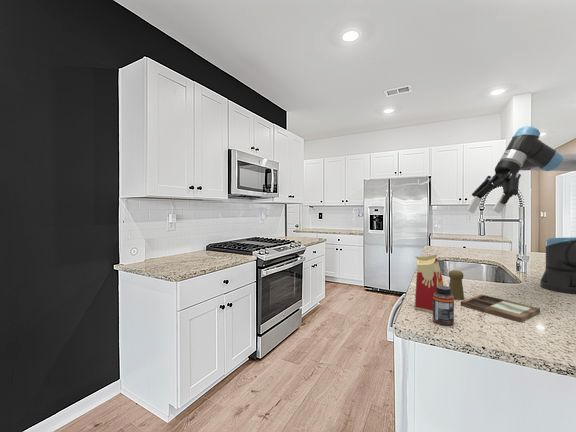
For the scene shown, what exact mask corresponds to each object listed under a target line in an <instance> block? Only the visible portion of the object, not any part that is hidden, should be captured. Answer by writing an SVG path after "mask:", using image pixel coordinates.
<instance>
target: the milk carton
mask: <svg viewBox="0 0 576 432" xmlns="http://www.w3.org/2000/svg"><path fill="white" fill-rule="evenodd" d="M437 257H438V254H437V253H436V254H431V255H425V256H415V259H416V261H417V262H416V263H417V269H416V278H415V279H416V280H415V294H414V310H419V311H423V312H427V313H430V314H433V294H434V293H435V292H436V287H437V286H445V285H444V279H443V275H442V271H441V267H440V264H439V262H440V261H439V260H438V258H437Z"/></svg>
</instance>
